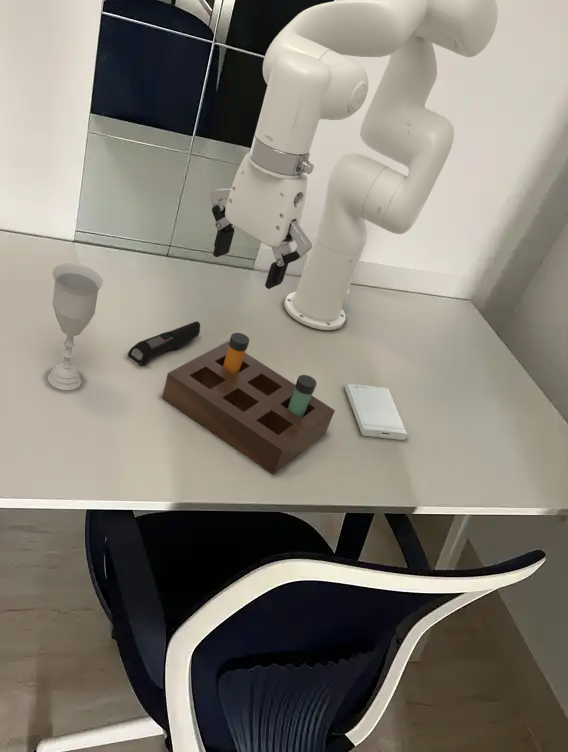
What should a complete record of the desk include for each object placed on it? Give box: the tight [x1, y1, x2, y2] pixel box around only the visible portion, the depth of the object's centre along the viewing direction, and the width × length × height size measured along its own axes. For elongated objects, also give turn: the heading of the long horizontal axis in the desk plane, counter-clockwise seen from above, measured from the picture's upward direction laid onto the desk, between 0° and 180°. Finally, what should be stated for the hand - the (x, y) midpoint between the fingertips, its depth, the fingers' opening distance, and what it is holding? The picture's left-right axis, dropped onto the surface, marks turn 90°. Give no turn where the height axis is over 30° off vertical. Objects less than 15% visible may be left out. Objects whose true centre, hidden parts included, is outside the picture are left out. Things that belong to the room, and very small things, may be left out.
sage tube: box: [288, 374, 318, 418], centre depth 124 cm, size 3×3×10 cm
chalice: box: [47, 262, 104, 391], centre depth 116 cm, size 7×7×18 cm
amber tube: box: [223, 332, 250, 375], centre depth 128 cm, size 3×3×10 cm
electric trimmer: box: [127, 321, 201, 366], centre depth 134 cm, size 4×16×3 cm, turn 142°
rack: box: [161, 340, 336, 475], centre depth 126 cm, size 16×22×5 cm
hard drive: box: [344, 383, 409, 441], centre depth 137 cm, size 2×8×12 cm
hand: (246, 270), depth 116 cm, fingers open, 9 cm apart
